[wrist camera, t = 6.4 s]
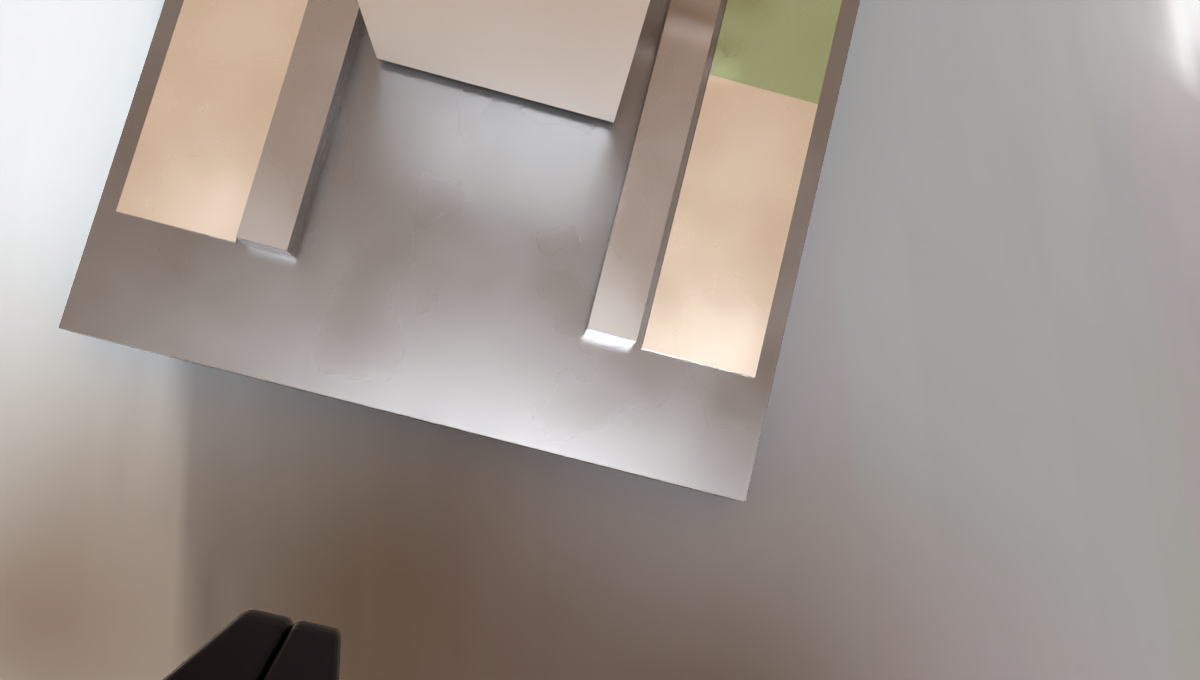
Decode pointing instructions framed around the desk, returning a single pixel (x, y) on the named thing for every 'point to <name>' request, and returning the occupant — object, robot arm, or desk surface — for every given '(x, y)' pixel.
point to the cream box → (516, 45)
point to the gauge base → (476, 227)
